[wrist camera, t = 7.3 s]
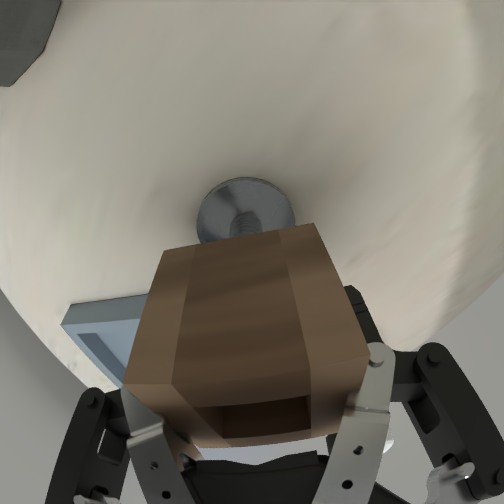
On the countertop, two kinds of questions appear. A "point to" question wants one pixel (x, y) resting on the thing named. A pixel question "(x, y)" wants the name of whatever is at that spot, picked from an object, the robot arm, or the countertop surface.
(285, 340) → the block
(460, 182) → the countertop surface
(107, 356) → the tray
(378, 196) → the countertop surface
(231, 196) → the grey metal coffee tamper
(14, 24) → the coffeepot
